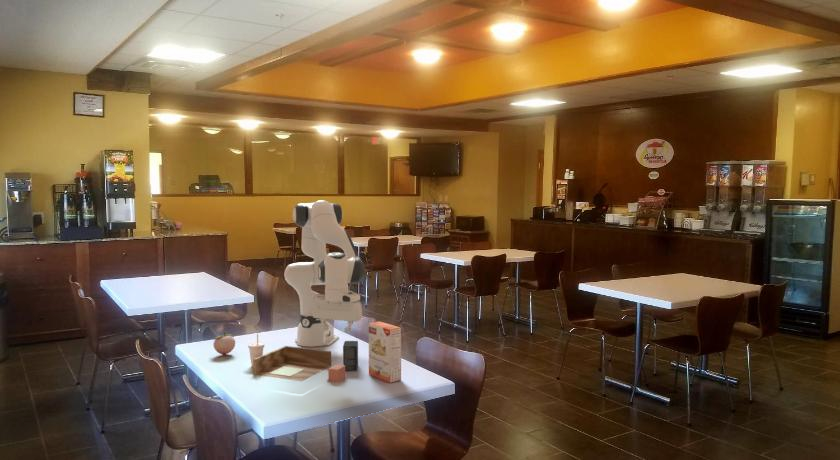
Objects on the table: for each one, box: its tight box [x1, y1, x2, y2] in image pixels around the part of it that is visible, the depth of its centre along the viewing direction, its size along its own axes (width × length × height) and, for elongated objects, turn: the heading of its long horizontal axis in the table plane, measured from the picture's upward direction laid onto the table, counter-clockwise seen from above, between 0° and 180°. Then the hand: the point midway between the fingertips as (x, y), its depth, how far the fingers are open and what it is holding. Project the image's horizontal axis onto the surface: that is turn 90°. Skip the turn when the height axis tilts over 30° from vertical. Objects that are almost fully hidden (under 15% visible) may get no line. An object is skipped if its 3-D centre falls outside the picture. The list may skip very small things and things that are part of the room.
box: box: [342, 340, 359, 372], centre depth 243 cm, size 8×6×11 cm
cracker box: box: [368, 321, 402, 384], centre depth 231 cm, size 14×6×21 cm, turn 40°
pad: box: [269, 366, 305, 377], centre depth 236 cm, size 10×10×1 cm
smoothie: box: [247, 333, 265, 368], centre depth 243 cm, size 6×6×14 cm
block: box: [327, 364, 346, 383], centre depth 229 cm, size 6×4×5 cm, turn 159°
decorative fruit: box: [213, 332, 236, 356], centre depth 261 cm, size 9×8×10 cm
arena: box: [252, 345, 332, 382], centre depth 238 cm, size 22×22×7 cm
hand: (336, 331), depth 228 cm, fingers open, 8 cm apart
